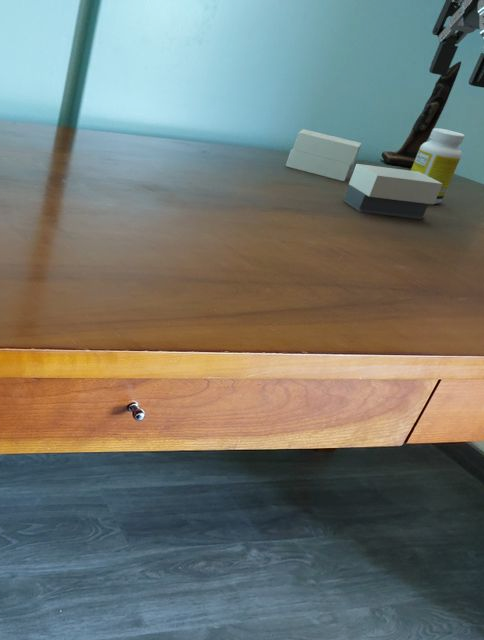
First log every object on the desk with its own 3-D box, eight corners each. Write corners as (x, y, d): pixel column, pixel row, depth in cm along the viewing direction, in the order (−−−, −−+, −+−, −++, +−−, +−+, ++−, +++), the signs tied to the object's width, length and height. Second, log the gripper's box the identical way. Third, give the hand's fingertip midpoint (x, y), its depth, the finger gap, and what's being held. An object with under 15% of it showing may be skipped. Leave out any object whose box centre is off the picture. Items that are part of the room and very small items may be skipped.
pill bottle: (445, 202, 122) (474, 135, 116) (434, 207, 117) (464, 138, 112) (407, 190, 125) (434, 125, 120) (395, 195, 121) (423, 127, 115)
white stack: (348, 177, 127) (361, 143, 124) (346, 182, 124) (359, 146, 121) (289, 162, 131) (301, 128, 128) (285, 166, 127) (296, 131, 124)
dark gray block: (402, 219, 108) (413, 193, 106) (419, 230, 104) (431, 203, 102) (338, 211, 106) (348, 185, 104) (353, 222, 102) (364, 195, 100)
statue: (378, 158, 146) (419, 53, 137) (413, 164, 146) (457, 59, 137) (385, 164, 143) (429, 56, 133) (421, 170, 143) (467, 62, 133)
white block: (410, 192, 106) (419, 171, 105) (433, 204, 101) (443, 183, 100) (348, 184, 104) (356, 163, 103) (369, 196, 100) (377, 175, 98)
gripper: (591, -56, 81) (518, 95, 88) (506, -59, 93) (449, 74, 101) (532, -68, 79) (463, 86, 87) (453, -70, 92) (400, 65, 100)
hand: (455, 79), depth 94 cm, fingers open, 8 cm apart
